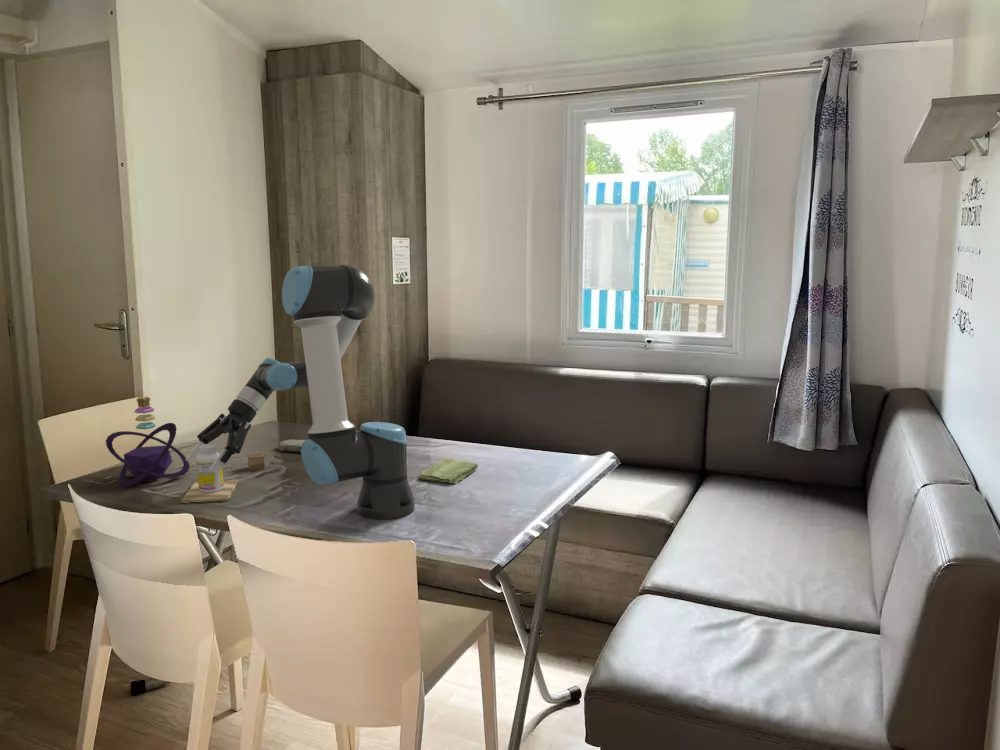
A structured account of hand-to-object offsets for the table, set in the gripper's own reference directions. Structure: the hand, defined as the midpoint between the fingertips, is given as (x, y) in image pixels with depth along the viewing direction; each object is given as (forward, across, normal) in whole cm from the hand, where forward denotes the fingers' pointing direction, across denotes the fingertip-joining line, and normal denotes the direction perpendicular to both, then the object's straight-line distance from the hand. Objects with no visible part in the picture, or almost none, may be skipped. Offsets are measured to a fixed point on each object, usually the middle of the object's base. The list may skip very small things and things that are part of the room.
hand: (200, 467), depth 205 cm
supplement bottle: (+4, 0, -7) cm, 8 cm away
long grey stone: (-29, +11, -42) cm, 52 cm away
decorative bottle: (+8, +26, -4) cm, 28 cm away
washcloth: (-35, -40, -47) cm, 71 cm away
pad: (+4, 0, -7) cm, 8 cm away
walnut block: (-11, +11, -22) cm, 27 cm away
